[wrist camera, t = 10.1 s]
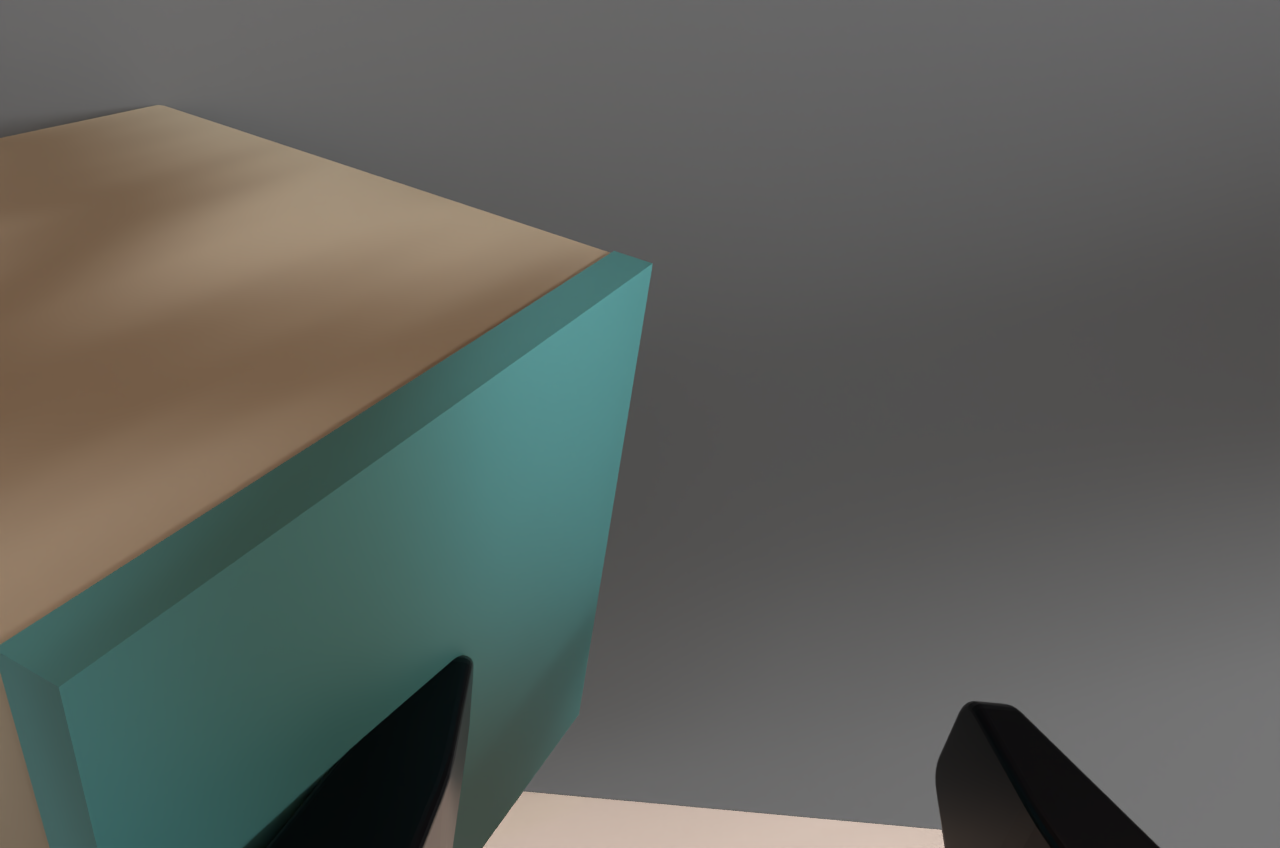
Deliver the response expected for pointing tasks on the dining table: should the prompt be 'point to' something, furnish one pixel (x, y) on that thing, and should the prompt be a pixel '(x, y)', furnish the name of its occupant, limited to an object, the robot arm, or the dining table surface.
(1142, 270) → the rubber mat
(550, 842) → the dining table surface
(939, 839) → the dining table surface
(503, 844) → the dining table surface
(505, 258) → the beech cube
